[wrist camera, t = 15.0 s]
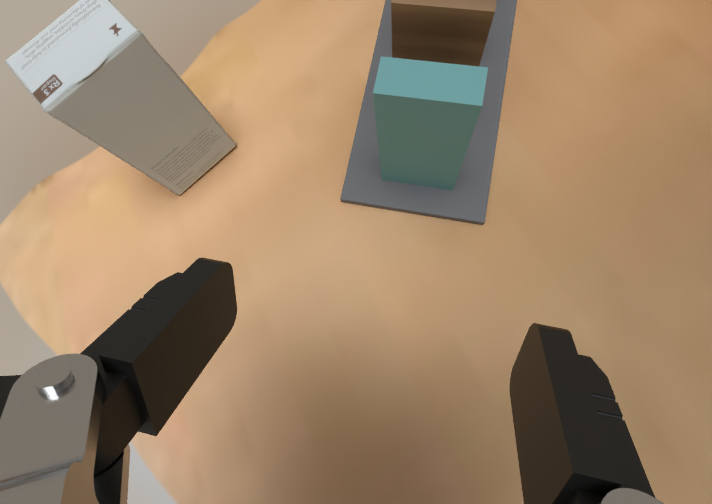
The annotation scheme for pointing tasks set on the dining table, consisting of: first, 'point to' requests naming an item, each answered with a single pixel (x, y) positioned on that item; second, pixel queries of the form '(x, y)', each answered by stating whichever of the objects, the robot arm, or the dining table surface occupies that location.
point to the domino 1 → (441, 30)
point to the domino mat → (478, 161)
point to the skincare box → (121, 94)
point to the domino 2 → (425, 119)
